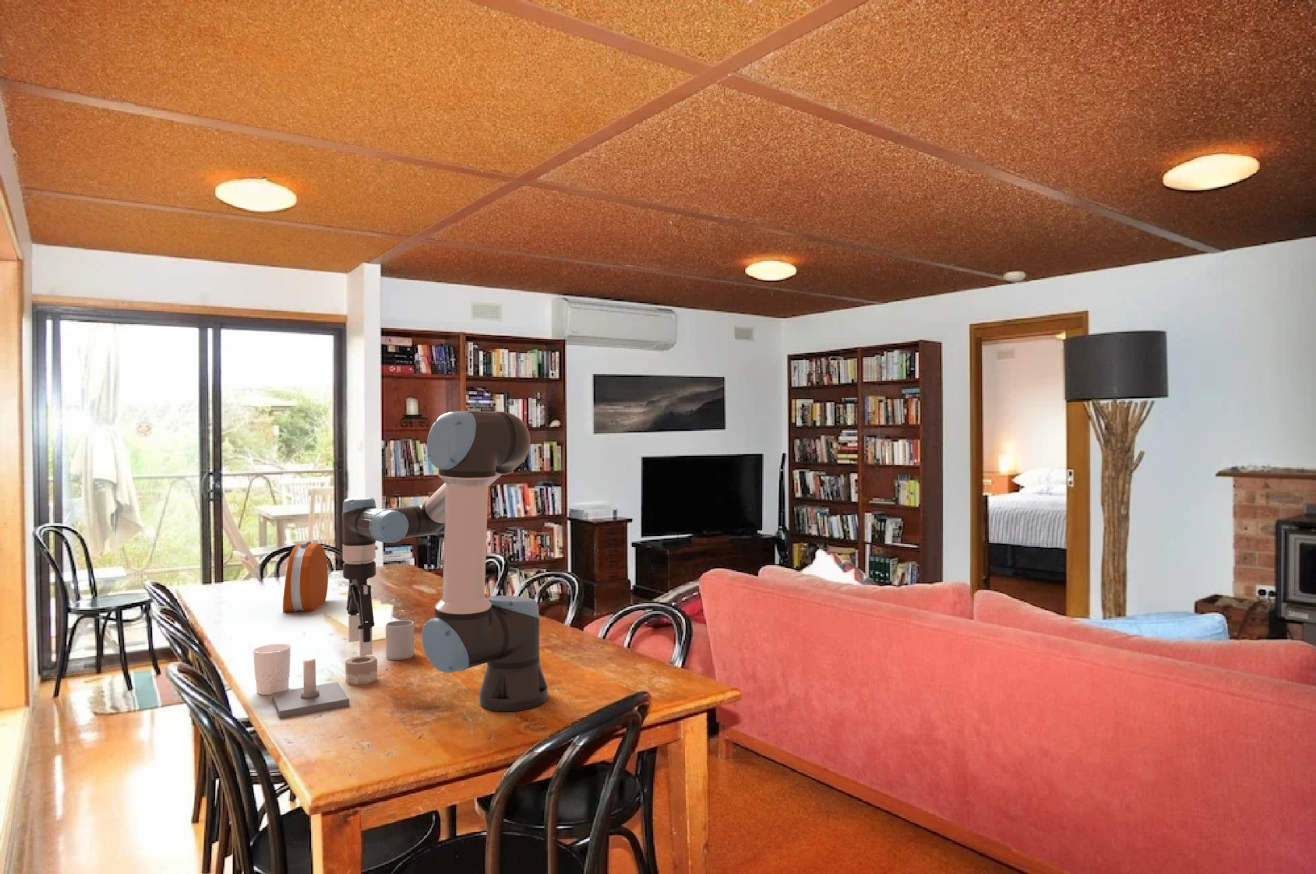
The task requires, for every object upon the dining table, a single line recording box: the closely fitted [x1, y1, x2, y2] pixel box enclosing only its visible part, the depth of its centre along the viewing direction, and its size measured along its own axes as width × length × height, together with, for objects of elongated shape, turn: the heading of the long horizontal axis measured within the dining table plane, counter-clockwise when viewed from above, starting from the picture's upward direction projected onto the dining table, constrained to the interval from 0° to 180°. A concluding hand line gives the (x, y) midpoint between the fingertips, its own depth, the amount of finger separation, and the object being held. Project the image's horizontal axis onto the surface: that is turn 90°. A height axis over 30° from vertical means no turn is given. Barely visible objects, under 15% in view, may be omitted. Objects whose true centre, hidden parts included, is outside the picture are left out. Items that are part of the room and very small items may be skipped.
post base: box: [271, 658, 350, 719], centre depth 179 cm, size 14×14×10 cm
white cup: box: [252, 643, 291, 696], centre depth 187 cm, size 8×8×10 cm
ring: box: [344, 655, 378, 686], centre depth 194 cm, size 7×7×5 cm
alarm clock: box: [282, 540, 329, 613], centre depth 276 cm, size 22×10×23 cm, turn 6°
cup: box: [385, 619, 415, 661], centre depth 215 cm, size 7×10×9 cm
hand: (360, 648), depth 194 cm, fingers open, 13 cm apart
